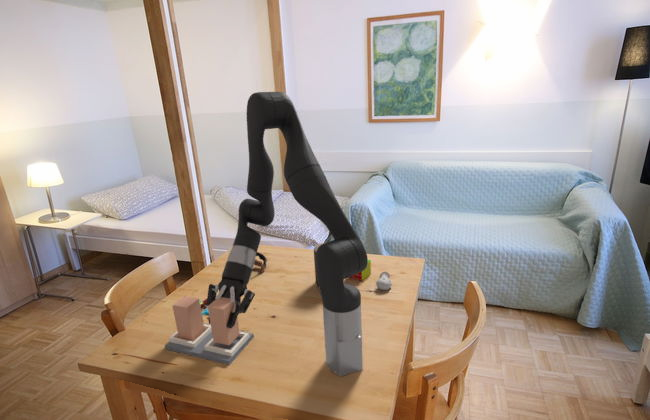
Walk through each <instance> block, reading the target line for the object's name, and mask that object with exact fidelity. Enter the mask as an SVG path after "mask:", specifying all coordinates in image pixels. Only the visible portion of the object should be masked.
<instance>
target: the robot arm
mask: <svg viewBox="0 0 650 420" xmlns="http://www.w3.org/2000/svg"><path fill="white" fill-rule="evenodd" d="M270 129H271V130H273V129H279V131H280V132H281V135H283V138H284V142H285V144H286V152H285V158H284V163H283V164H284V165H283V176H284V179H285V182H286V184H287V187H288V189H289V190H290V193H291V194H292V197H293V199H294V200H295V201H296V202H297V203H298V204H299V205H300V206H301V207H302V208H303V209H304V210H306V211H307V212H309V213H310V214H311V215H313V216H314V217H315V218H317V219H318V220H320V222H322V224H323V225H324V226H325V227H326V228H327V230H328V231H329V233H330V234H331V236H332V237H333V240H330V241H328V242H323V243H324V244H322V245H320V246H319V247H318V249H317V252H316V267H317V275H318V283H319V288H318V289H319V293H320V296H321V299H322V300H321V302H322V314H323V316H322V317H323V333H324V347H325V348H324V349H325V359H326V360H325V362H326V366H327V368H328V369H329V370H330V371H332V372H334V373H335V374H336V375H338V377H342V376H343V377H344V376H345V375H346V376H348V375H350V374H353V373H357V372H361V371H363V367H364V365H363V360H364V359H363V333H362V332H363V330H362V327H363V326H362V298H361V297H362V295H361V292H360V289H359V288H357V287H356V286H354V285H353V284H350V283H345V281H344V280H346V279H348V278H352V277H351V276H353V275H355V274H358V273H360V272H362V271H363V270H365V269H366V267H367V263H368V260H369V259H368V254H367V251H366V249H365V246H364V244H363V242H362V240H361V238H360V236H359V235H358V234H357V232H356V230H355V228H354V227H353V225H352V223H351V222H350V220H349V218H348V217H347V216H346V213H345V212H344V211H343V209H342V207H341V205H340V203H339V201H338V199H337V198H336V196H335V194H334V192H333V190H332V188H331V186H330V183H329V181H328V179H327V176H326V175H325V172H324V171H323V169H322V167H321V165H320V163H319V161H318V159H317V157H316V155H315V153H314V151H313V149H312V147H311V145H310V143H309V141H308V139H307V137H306V136H307V135H306V134H305V131H304V129H303V126H302V123H301V120H300V118H299V115H298V112H297V110H296V108H295V105H294V102H293V101H292V99H291V97H290V96H289V95H288V94H287V93H285V92H283V91H258V92H253V93H252V94H251V95H250V96H249V97H248V99H247V104H246V130H247V146H248V173H247V174H248V175H247V182H246V183H247V185H246V193H247V195H249V197H251V198H245V199H243V200H242V201H241V202H240V204H239V206H238V221H237V222H238V225H237V230H236V235H235V238H234V241H233V243H232V247H231V248H230V252H229V253H228V256H227V260H226V261H225V265H224V268H223V271H222V274H221V280H220V282H219V283H218V284H212V283H210V284H209V285H208V289H207V298H206V299H207V305H208V306H209V305H210V304H211V303H212V302H213V301H214V300H216V299H217V298H218V299H220V298H221V297H224V298H230V301H233V302H232V303H233V305H232V308H231V312H232V313H230V315H229V319H228V322H227V325H226V327H228V328H232V327H234V325H235V322H236V319H238V316H239V315H240V314H246V313H247V311H248V309H249V307H250V305H251V303H252V301H253V299H254V298H255V296H256V293H255V292H254V291H252V290H249V289H248V287H247V286H248V284H249V282H250V279H251V275H252V273H253V272H252V271H253V269H254V267H255V265H254V263H255V259H256V257H257V256H256V253H257V252H258V249H259V246H260V242H261V239H262V236H261V234H260V232H258V231H257V230H255V229H253V228H251V227H249V226H248V224H253V225H257V226H261V227H268V226H270V225H271V224H272V223H273V221H274V220H275V206H274V201H273V193H272V191H273V183H274V176H275V174H274V173H275V171H274V165H273V162H272V160H271V158H270V156H269V154H268V151H267V150H266V147H265V144H264V143H265V142H264V135H265V131H266V130H270ZM242 297H243V298H242ZM241 299H242V300H241ZM207 321H208V324H210V318H209V317H208V318H207ZM210 325H211V324H210Z"/></svg>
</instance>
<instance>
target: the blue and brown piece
mask: <svg viewBox="0 0 650 420" xmlns="http://www.w3.org/2000/svg"><path fill="white" fill-rule="evenodd" d="M199 301H200V307H201V313H202V317H203V316H204V315H209V312H208V305H207V298H205V299H204V300H203V301H202V300H199ZM204 308H205V309H204Z"/></svg>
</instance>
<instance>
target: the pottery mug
mask: <svg viewBox="0 0 650 420" xmlns="http://www.w3.org/2000/svg"><path fill="white" fill-rule="evenodd" d="M256 257H258V258H259V260H257V259H256V258H255V263H254V266H256V267H259V268H260V274H262V273H264V271H265V270H266V269H267V262H268V259H267V257H266V256H265V255H264V254H263V253H261V252H258V251H257V253H256ZM261 260H262V261H261Z"/></svg>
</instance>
